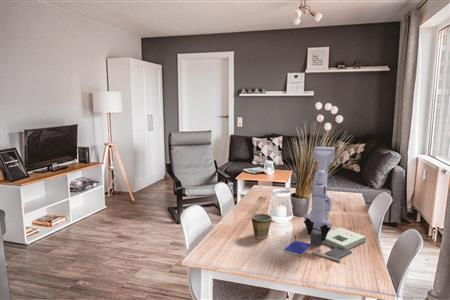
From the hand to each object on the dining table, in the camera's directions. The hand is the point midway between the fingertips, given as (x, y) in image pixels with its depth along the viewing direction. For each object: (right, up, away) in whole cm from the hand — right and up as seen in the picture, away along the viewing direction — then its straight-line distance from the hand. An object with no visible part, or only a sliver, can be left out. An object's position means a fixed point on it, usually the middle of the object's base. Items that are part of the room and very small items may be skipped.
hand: (316, 237), depth 152 cm
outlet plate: (+13, -3, +4) cm, 14 cm away
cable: (0, -5, -13) cm, 14 cm away
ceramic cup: (-25, -2, +11) cm, 27 cm away
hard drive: (-10, -5, -4) cm, 12 cm away
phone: (+7, -5, -9) cm, 12 cm away
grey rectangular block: (0, -3, +1) cm, 3 cm away
